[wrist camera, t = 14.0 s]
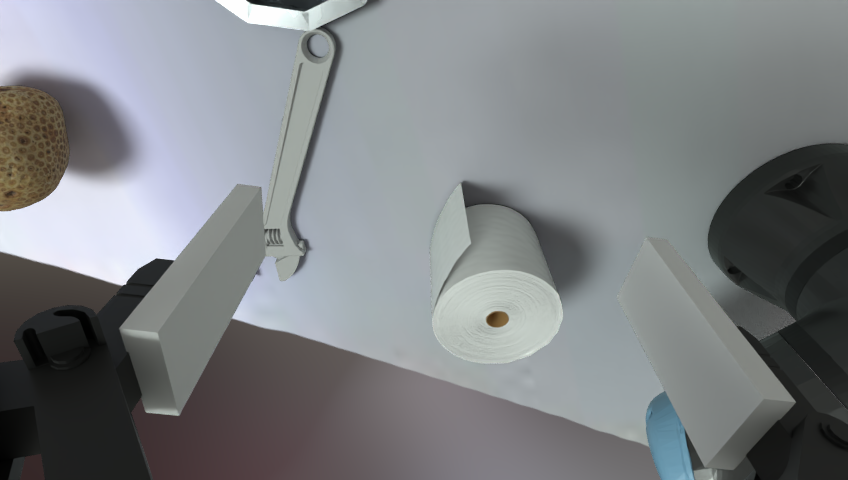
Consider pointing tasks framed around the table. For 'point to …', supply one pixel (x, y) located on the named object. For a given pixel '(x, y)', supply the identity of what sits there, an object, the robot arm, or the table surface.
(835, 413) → the robot arm
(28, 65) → the table surface
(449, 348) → the toilet tissue
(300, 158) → the adjustable wrench
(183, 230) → the table surface
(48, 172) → the natural sponge
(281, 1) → the flange seat
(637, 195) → the table surface
